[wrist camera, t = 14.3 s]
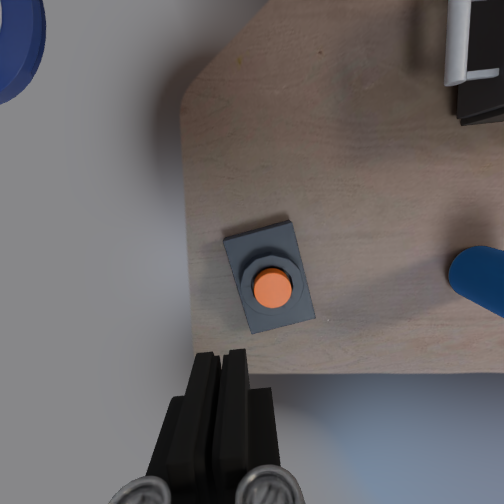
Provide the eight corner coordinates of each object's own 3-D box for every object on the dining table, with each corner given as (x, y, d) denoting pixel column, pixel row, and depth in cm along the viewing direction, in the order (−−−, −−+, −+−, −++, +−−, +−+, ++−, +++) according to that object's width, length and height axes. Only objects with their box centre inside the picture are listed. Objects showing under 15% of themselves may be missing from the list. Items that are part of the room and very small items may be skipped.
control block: (224, 237, 35) (221, 244, 31) (289, 219, 34) (294, 224, 30) (251, 325, 37) (251, 342, 34) (312, 310, 37) (319, 325, 33)
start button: (249, 273, 32) (249, 278, 30) (284, 263, 32) (286, 268, 30) (259, 305, 33) (259, 312, 31) (293, 296, 33) (295, 303, 31)
